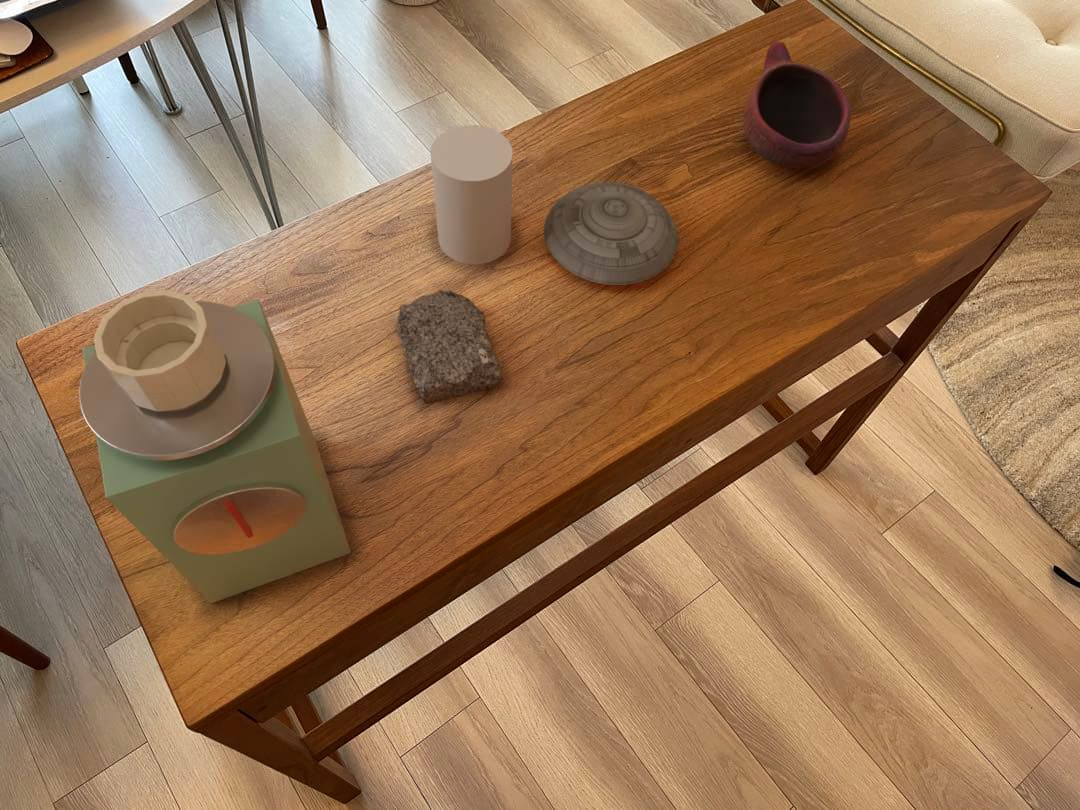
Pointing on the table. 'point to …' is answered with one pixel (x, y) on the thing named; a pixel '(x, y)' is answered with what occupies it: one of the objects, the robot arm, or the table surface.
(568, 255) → the flying saucer
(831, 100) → the bowl
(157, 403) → the small bowl
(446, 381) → the stone
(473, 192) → the taupe round pillar
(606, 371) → the table surface
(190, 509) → the scale
